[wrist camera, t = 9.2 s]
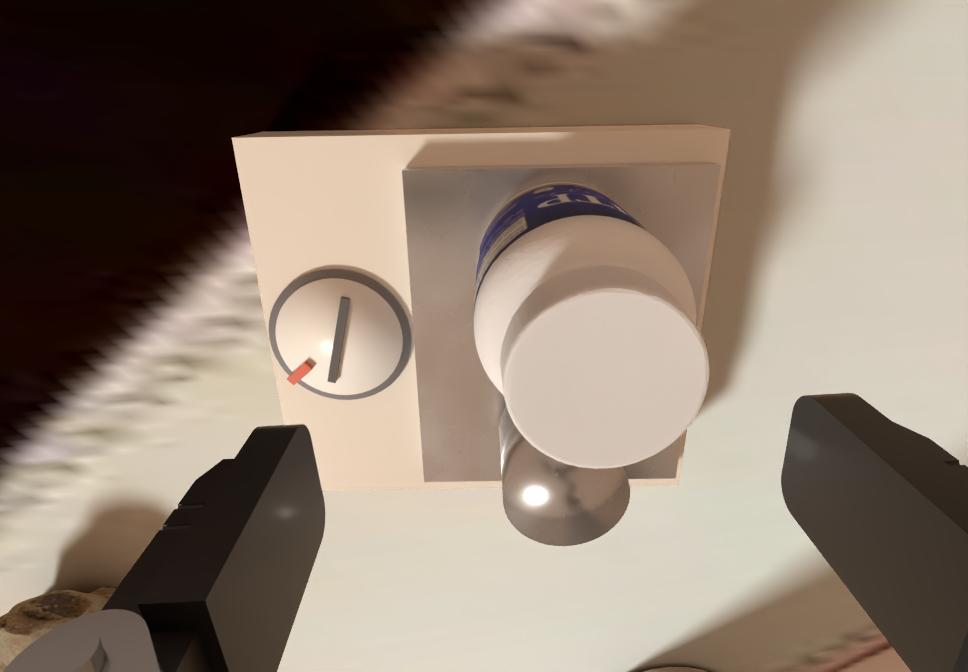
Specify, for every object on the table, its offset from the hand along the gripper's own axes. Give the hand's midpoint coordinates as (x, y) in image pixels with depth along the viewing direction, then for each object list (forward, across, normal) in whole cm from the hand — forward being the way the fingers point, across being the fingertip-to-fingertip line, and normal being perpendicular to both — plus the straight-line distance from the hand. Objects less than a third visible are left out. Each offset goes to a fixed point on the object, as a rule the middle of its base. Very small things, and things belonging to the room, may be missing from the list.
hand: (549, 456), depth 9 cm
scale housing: (+14, +1, +2) cm, 15 cm away
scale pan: (+11, -1, +3) cm, 12 cm away
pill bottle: (+11, -2, 0) cm, 11 cm away
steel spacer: (+10, -1, +6) cm, 12 cm away
